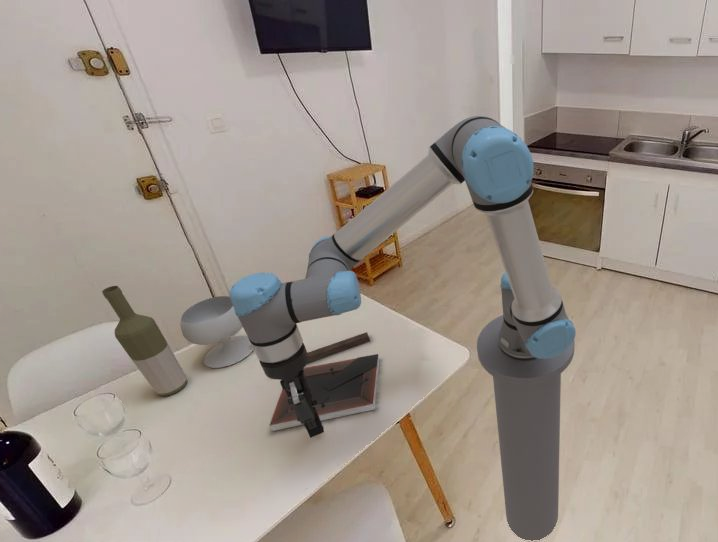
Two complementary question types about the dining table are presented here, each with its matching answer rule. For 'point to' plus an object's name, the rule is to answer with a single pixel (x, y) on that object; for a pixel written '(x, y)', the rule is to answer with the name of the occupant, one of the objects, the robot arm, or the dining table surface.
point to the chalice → (216, 331)
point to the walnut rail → (338, 347)
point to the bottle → (146, 346)
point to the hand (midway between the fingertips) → (316, 432)
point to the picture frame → (334, 390)
